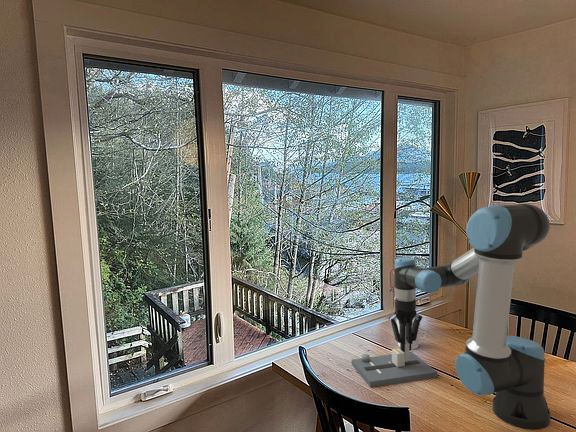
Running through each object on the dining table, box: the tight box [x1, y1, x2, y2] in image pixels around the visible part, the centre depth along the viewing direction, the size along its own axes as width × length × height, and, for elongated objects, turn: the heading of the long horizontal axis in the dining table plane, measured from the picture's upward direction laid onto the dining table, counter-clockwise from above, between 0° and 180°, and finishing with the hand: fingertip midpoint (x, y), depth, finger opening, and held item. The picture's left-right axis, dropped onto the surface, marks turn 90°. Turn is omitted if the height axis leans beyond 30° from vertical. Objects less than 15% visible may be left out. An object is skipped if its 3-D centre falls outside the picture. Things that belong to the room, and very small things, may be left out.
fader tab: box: [391, 347, 405, 367], centre depth 151 cm, size 4×3×5 cm
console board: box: [351, 351, 438, 388], centre depth 151 cm, size 18×26×4 cm
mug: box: [397, 319, 427, 350], centre depth 172 cm, size 12×8×12 cm
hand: (405, 358), depth 152 cm, fingers closed
